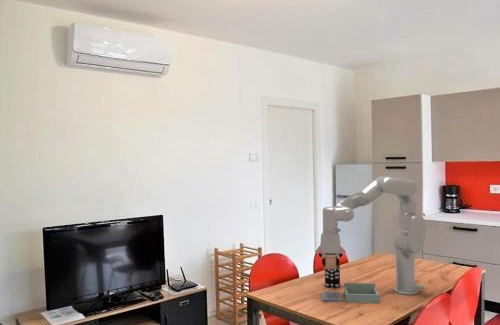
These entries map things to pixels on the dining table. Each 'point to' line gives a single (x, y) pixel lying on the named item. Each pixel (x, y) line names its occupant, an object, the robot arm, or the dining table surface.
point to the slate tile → (331, 296)
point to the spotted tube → (332, 277)
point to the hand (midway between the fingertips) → (330, 265)
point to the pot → (330, 261)
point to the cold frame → (361, 293)
